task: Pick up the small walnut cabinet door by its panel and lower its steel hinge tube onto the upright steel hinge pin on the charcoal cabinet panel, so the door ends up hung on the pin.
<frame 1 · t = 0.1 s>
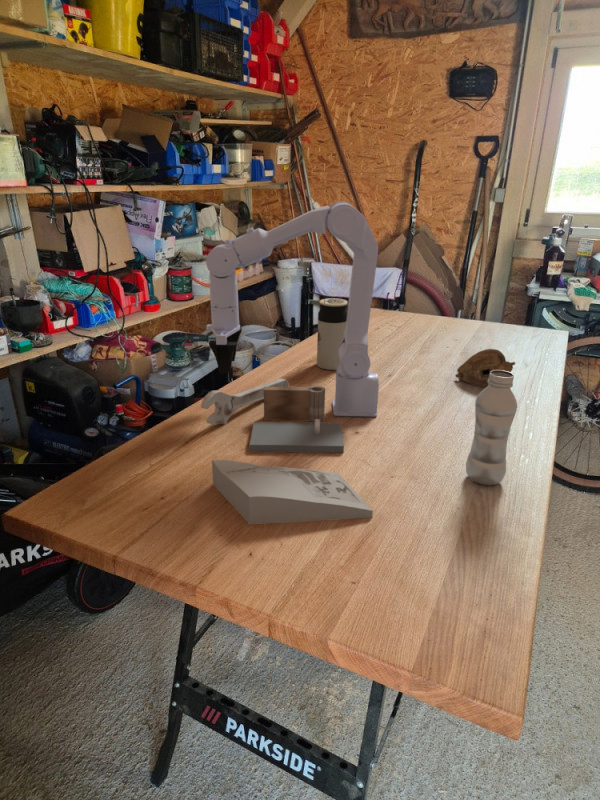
hand: (227, 366, 116), 10 cm above the table, tool pointing down, fingers open, 7 cm apart
wrench: (249, 410, 120), on the table
plastic bottle: (483, 480, 93), on the table
door: (315, 418, 115), on the table
travel mug: (331, 366, 146), on the table
ramp: (288, 503, 87), on the table
lumpy brown dome: (484, 375, 142), on the table
hinge board: (296, 439, 106), on the table
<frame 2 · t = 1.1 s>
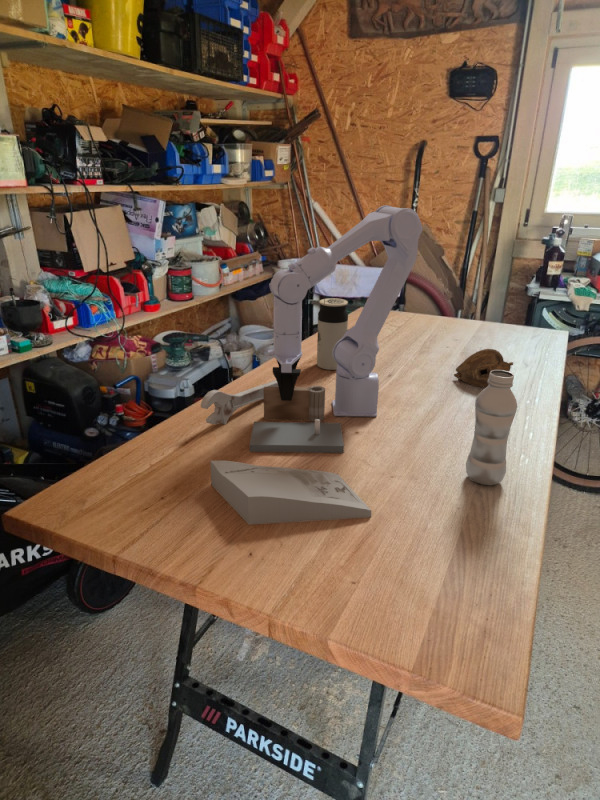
hand: (287, 392, 113), 6 cm above the table, tool pointing down, fingers open, 7 cm apart
nothing on the table moved.
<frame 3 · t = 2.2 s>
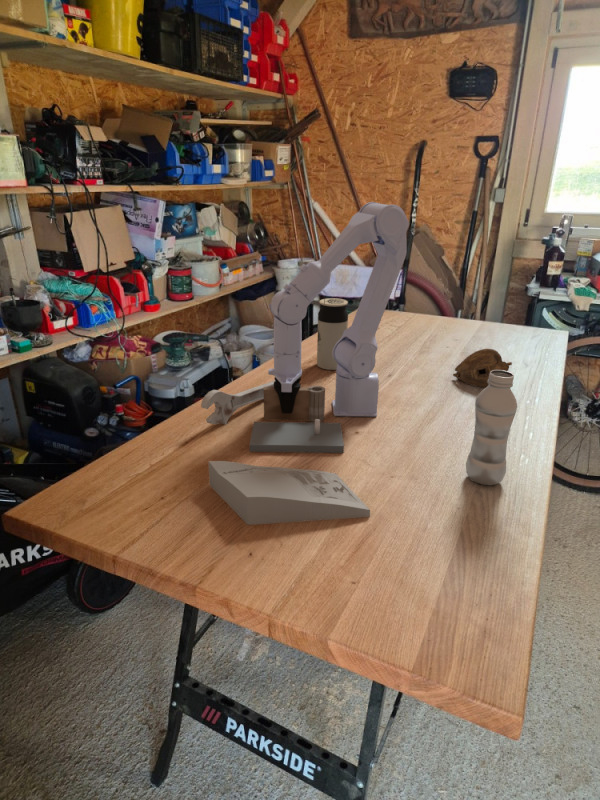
hand: (287, 410, 114), 2 cm above the table, tool pointing down, fingers closed on door, 2 cm apart
door: (315, 418, 115), on the table, touching gripper
everything else where it was.
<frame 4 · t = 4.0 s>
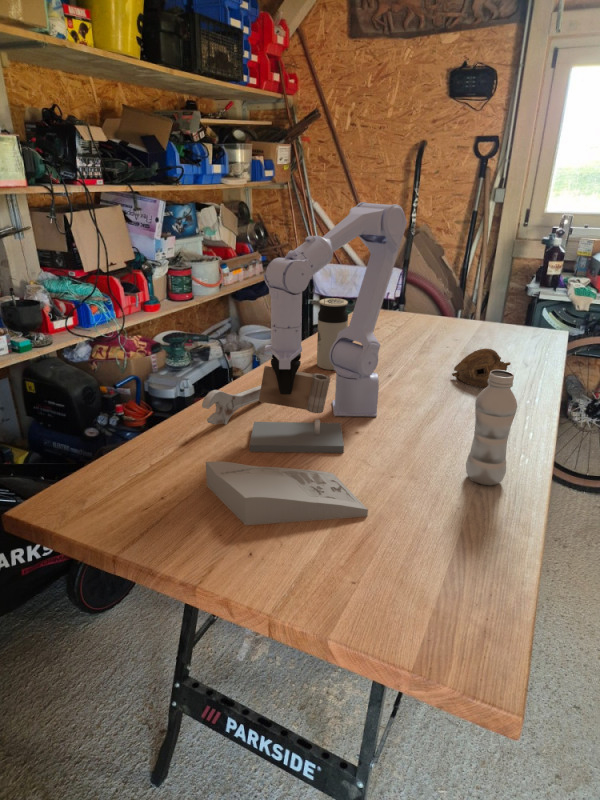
hand: (286, 391, 104), 9 cm above the table, tool pointing down, fingers closed on door
door: (314, 409, 106), point 6 cm above the table, tilted 10°, touching gripper
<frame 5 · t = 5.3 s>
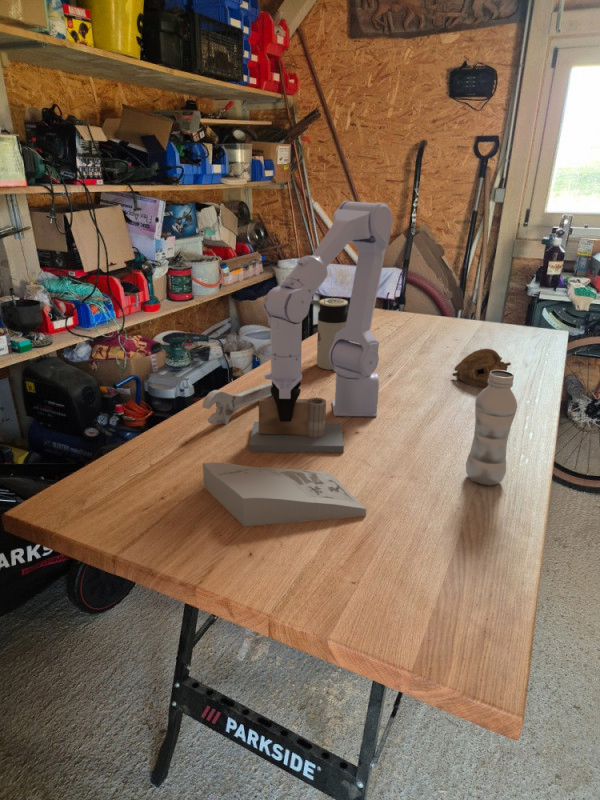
hand: (285, 418, 104), 5 cm above the table, tool pointing down, fingers closed on door, 2 cm apart
door: (315, 433, 105), point 2 cm above the table, touching gripper
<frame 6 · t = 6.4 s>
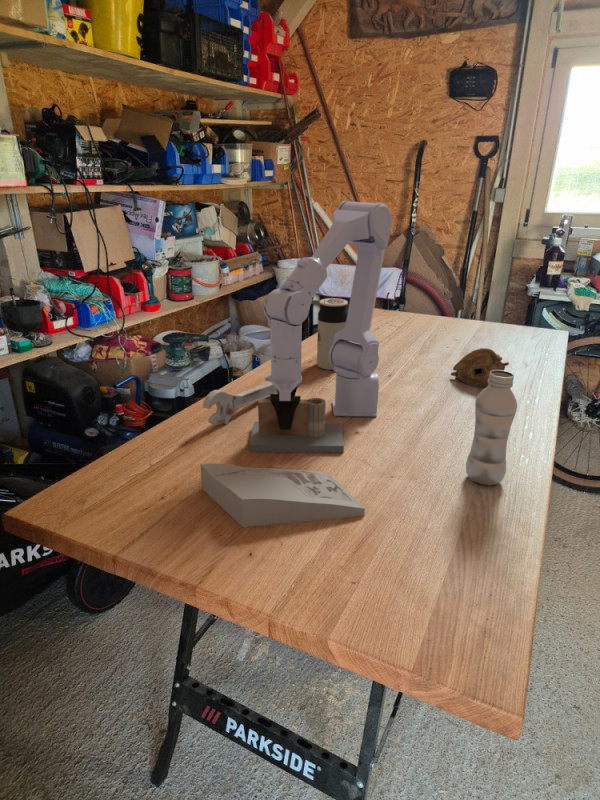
hand: (286, 420, 104), 4 cm above the table, tool pointing down, fingers open, 7 cm apart
door: (315, 433, 105), point 1 cm above the table, touching hinge board
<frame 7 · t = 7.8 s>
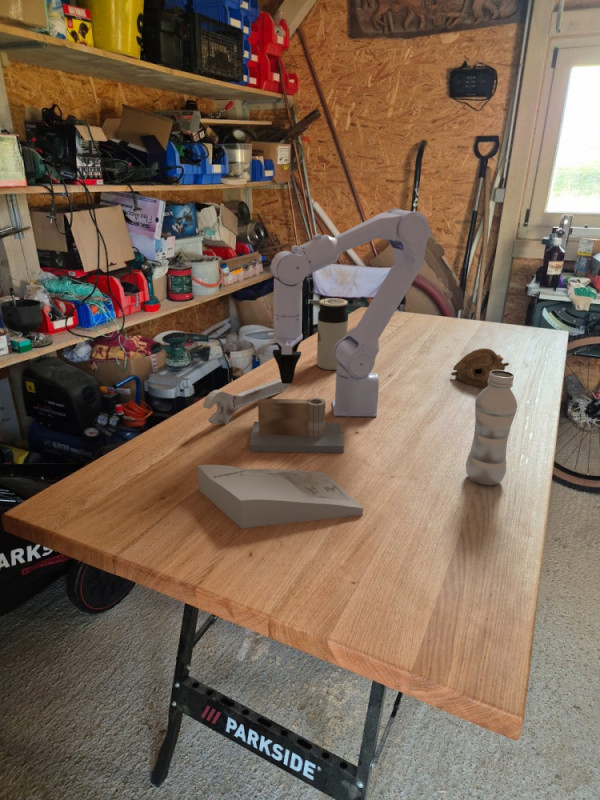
hand: (287, 376, 112), 9 cm above the table, tool pointing down, fingers open, 7 cm apart
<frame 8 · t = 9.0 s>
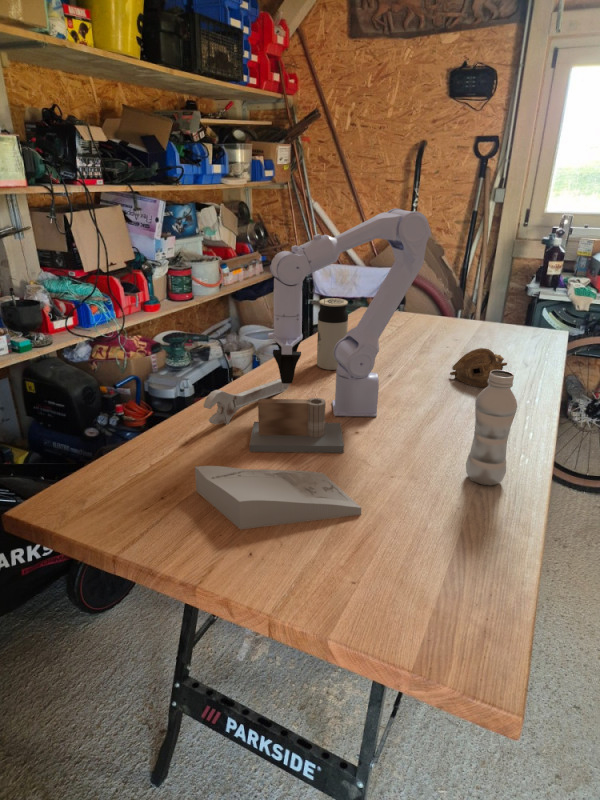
hand: (287, 376, 112), 9 cm above the table, tool pointing down, fingers open, 7 cm apart
at the end: door 0.3 cm from the target spot on the hinge board, point 1.5 cm above the hinge board's base; door tilted 0°; the gripper is holding nothing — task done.
